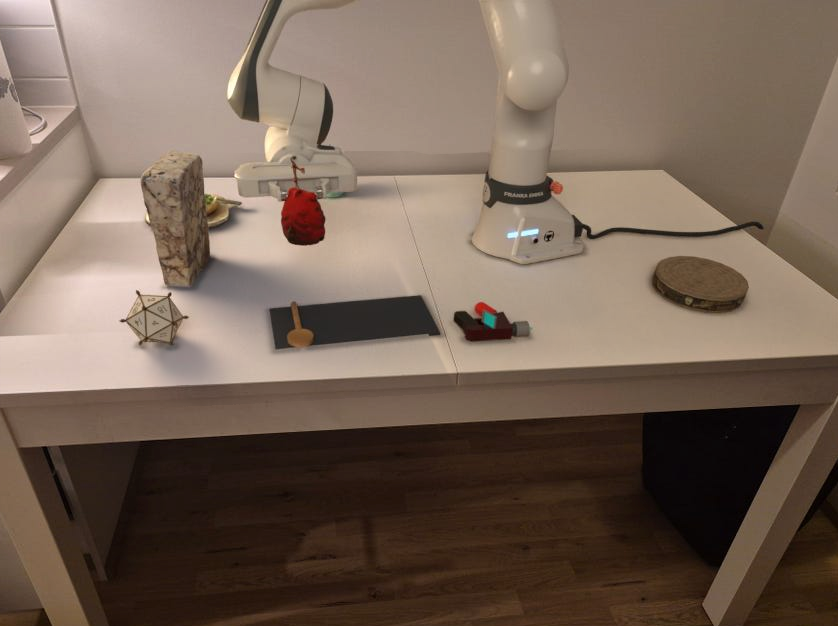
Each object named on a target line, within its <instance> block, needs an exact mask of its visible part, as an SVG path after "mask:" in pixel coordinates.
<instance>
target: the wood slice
mask: <svg viewBox="0 0 838 626" xmlns="http://www.w3.org/2000/svg"><path fill="white" fill-rule="evenodd" d="M651 281H652V282H651V286H652V287H653V289H654V291H655V293H657V294H658V295H659V296H661V298H663V299H664V300H666V301H667V302H670V303H672V304H674V305H676V306H677V307H681V308H684V309H687V310H691V311H695V312H701V313H708V314H709V313H710V314H723V313H724V314H725V313H730V312H733V311H736V310H737V309H739V308H741V306H742V305H743V304H744V300H745V299H746V296H747V294H748V291H749V289H750V286H749V282H748V280H747V279H746V277H745V276H744V275H743V274H742V273H740V272H739V271H737V270H736V269H734V268H732V267H731V266H728V265H726V264H724V263H722V262H719V261H716V260H712V259H709V258H704V257H698V256H692V255H691V256H688V255H676V256H669V257H666V258H664V259H661V260H659V262H658V263H657V264H656V266H655V269H654V272H653V275H652V280H651Z"/></svg>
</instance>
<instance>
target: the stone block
mask: <svg viewBox="0 0 838 626" xmlns="http://www.w3.org/2000/svg"><path fill="white" fill-rule="evenodd" d="M203 170H204V168H203V158H202V157H201V156H200V155H199V154H193V153H187V152H181V151H175V150H170V151H168V152H166V153H165V154H164V155H162V156H161V157H160V158H159V159H158V160H157V161H155V163H154V164H153V165H152V166H150V167H149V168H147V169H146V170H145V171H144V172H143V173H142V175H141V176H140V179H139V181H140V188H141V192H142V198H143V203H144V206H145V208H146V211H148V216H149V220H150V224H151V226H150V227H151V231H152V234H153V237H154V240H155V248H156V253H157V258H158V262H159V266H160V269H161V272H162V273H161V274H162V279H163V283H164V286H169V287H171V286H172V287H185V288H187V287H191V286H192V285H193V283H194V282H195V280H196V279H197V277H198V276H199V274H200V272H201V270H203V269H205V268H206V266H207V265H208V264H209V261H210V260H211V259H212V256H211V247H210V244H211V243H210V233H209V232H210V231H209V228H208V220H207V211H206V204H205V194H206V193H205V180H204V171H203Z"/></svg>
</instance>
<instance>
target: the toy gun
mask: <svg viewBox="0 0 838 626" xmlns="http://www.w3.org/2000/svg"><path fill="white" fill-rule="evenodd" d="M474 311H475V313H477V314H478V315H479V316H481V317H473V316H472V315H470V313H469V312H468V311H466V310H458V311H454V313H453V322H454V323H455V324H456V325H457V326H458V327H459V328H460V329H461V330H462V333H463V335H464V338H465V340H466V341H468V342H484V341H504V340H511V339H512V337H514V338H523V337H524V338H525V337H529V336H530V333H531V330H533V329H534V327H531V326H530V323H529V321H527V320H522V321H512V322H510V321H509V319H508V317H507V315H506V314H505V312H504V311H499V312H498V311H497V310H496V309H495V308H493V307H492V306H490V305H489V304H487V303H485V302H484V301H477V303H476V304H475V305H474Z"/></svg>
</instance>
